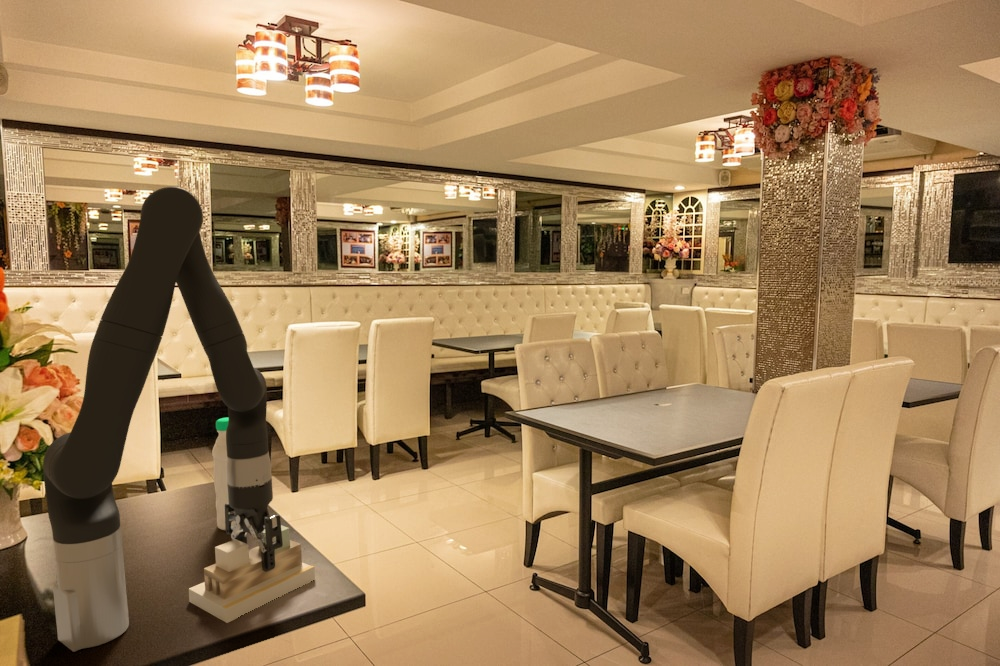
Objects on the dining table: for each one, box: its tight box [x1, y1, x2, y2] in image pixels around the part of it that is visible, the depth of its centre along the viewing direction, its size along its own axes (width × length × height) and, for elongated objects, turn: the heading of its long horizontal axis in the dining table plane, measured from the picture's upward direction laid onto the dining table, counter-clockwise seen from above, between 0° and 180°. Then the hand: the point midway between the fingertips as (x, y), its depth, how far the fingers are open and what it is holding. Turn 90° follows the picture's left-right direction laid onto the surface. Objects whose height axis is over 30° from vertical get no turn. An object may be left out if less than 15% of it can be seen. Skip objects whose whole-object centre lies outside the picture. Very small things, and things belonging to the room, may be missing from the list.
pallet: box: [203, 539, 303, 600], centre depth 121 cm, size 16×6×4 cm, turn 144°
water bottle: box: [211, 417, 235, 531], centre depth 150 cm, size 7×7×25 cm
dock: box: [188, 561, 316, 624], centre depth 121 cm, size 18×12×3 cm, turn 144°
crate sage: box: [258, 524, 291, 552], centre depth 124 cm, size 4×4×4 cm
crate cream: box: [214, 539, 250, 572], centre depth 117 cm, size 4×4×4 cm
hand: (255, 563), depth 121 cm, fingers open, 8 cm apart
